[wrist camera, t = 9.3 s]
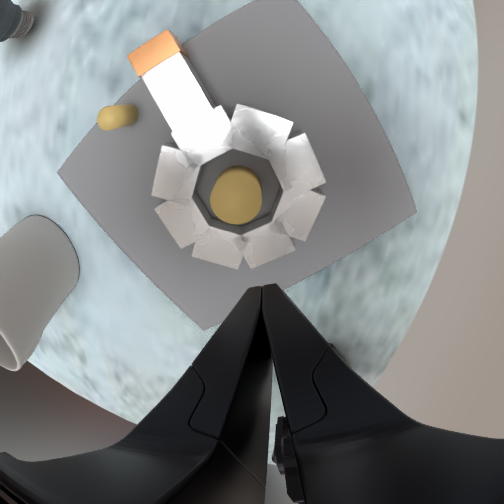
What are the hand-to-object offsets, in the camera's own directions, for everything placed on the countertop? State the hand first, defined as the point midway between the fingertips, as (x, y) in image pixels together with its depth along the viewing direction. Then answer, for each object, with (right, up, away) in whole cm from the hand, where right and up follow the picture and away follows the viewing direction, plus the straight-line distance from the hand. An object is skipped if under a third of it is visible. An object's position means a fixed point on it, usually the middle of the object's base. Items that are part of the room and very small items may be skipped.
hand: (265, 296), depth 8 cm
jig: (-1, +6, +10) cm, 12 cm away
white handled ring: (-2, +7, +7) cm, 11 cm away
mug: (-21, 0, +14) cm, 25 cm away
